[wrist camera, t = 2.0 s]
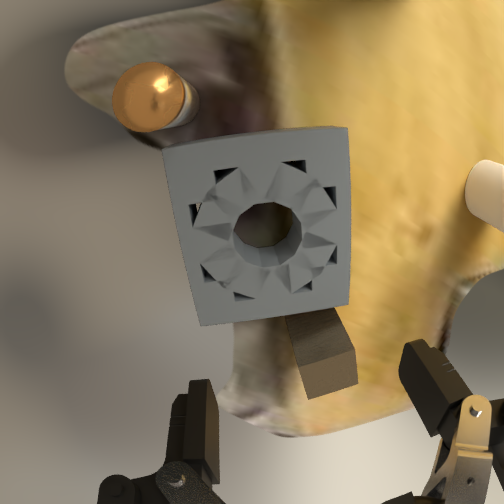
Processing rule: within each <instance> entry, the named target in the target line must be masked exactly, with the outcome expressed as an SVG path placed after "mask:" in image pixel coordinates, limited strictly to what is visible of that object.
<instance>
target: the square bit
mask: <svg viewBox="0 0 504 504" xmlns="http://www.w3.org/2000/svg"><path fill="white" fill-rule="evenodd" d="M285 319H286V322H287V326H288V330H289V334H290V338H291V341H292V345H293V349H294V353H295V357H296V361H297V364H298V368H299V371H300V375H301V378H302V381H303V385H304V388H305V391H306V394H307V398H308V400H309V399H312V398H316V397H319V396H322V395H325V394H329V393H332V392H335V391H338V390H341V389H344V388H347V387H350V386H353V385H356V384H358V375H357V364H356V355H355V348H354V346H353V344H352V342H351V340H350V338H349V336H348V334H347V332H346V330H345V328H344V326H343V324H342V322H341V320H340V318H339V316H338V314H337V312H336V310H335V308H334V307H332V308H327V309H321V310H315V311H309V312H303V313H297V314H290V315H285Z"/></svg>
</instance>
